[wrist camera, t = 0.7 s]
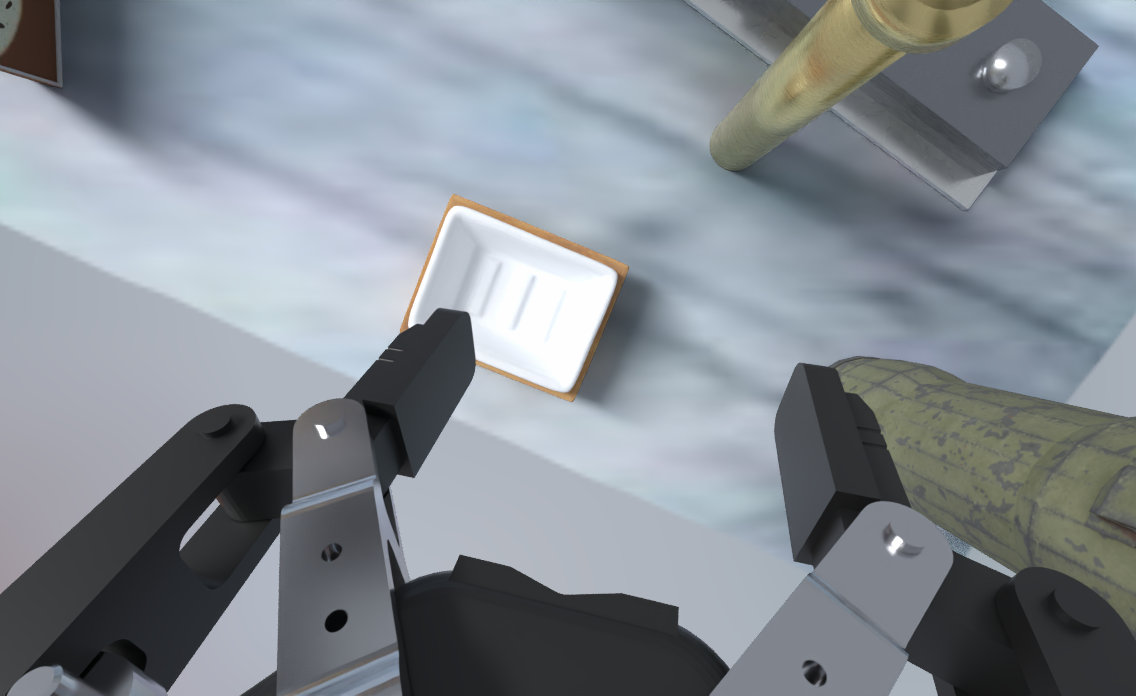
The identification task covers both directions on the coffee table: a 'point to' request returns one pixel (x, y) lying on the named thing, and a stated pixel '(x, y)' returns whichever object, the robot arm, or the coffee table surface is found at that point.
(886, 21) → the brass pin
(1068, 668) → the robot arm
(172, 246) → the coffee table surface
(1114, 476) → the thermos
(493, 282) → the soap dish
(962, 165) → the bolted mounting plate
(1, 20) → the food container
